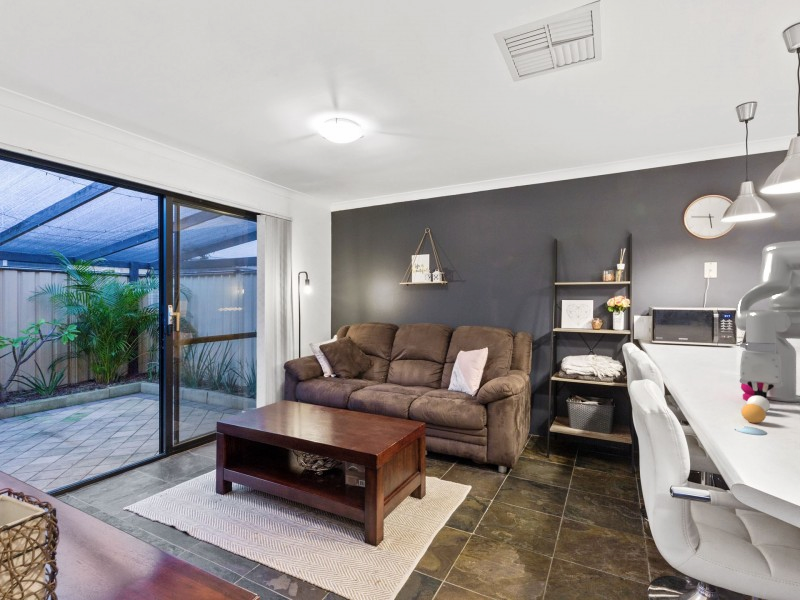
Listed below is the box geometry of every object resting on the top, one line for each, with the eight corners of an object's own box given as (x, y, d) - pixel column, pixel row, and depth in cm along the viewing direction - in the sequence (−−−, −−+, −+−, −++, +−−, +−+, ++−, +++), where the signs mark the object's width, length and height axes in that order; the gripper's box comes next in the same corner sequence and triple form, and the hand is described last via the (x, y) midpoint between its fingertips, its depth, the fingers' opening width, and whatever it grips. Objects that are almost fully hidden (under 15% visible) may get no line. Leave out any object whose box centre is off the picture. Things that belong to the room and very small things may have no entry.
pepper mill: (773, 402, 140) (773, 345, 140) (752, 403, 140) (752, 346, 140) (755, 397, 147) (755, 343, 147) (735, 397, 148) (735, 343, 147)
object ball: (745, 418, 123) (745, 400, 123) (768, 423, 118) (768, 404, 118) (738, 421, 120) (738, 403, 120) (761, 426, 115) (761, 407, 115)
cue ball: (751, 409, 133) (750, 392, 133) (772, 413, 128) (772, 396, 128) (744, 412, 130) (744, 395, 130) (766, 416, 125) (766, 398, 125)
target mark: (738, 425, 117) (738, 424, 117) (770, 431, 111) (770, 431, 111) (728, 429, 114) (728, 428, 114) (760, 436, 108) (760, 435, 108)
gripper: (730, 346, 137) (729, 400, 137) (791, 351, 126) (791, 409, 126) (733, 345, 142) (733, 397, 142) (792, 349, 131) (792, 405, 131)
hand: (760, 402), depth 134 cm, fingers closed
